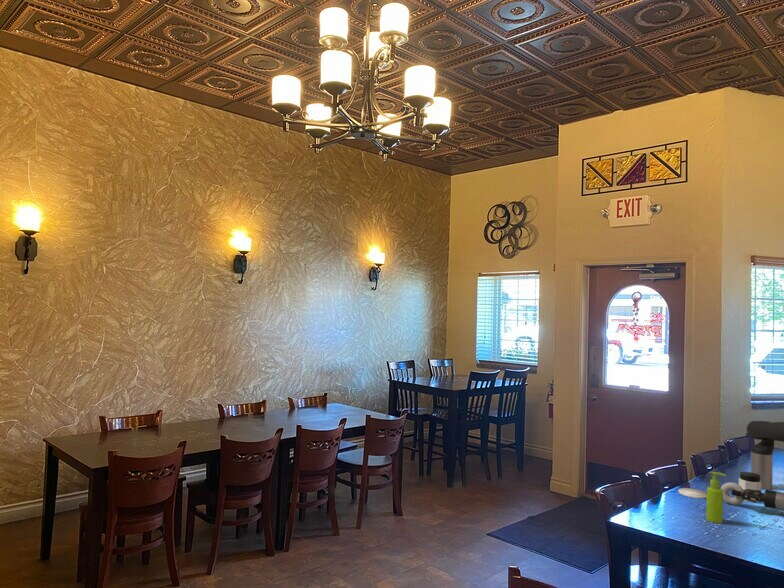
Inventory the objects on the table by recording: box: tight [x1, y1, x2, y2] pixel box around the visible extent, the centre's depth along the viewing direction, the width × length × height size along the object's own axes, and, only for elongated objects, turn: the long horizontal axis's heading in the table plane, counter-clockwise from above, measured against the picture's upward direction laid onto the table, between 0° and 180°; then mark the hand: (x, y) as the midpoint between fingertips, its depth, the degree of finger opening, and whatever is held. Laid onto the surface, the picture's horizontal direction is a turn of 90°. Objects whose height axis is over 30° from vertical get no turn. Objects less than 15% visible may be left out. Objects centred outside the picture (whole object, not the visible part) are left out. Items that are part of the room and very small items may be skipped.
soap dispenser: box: [705, 471, 727, 524], centre depth 237 cm, size 6×7×20 cm
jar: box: [738, 471, 762, 504], centre depth 267 cm, size 9×8×12 cm
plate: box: [677, 487, 707, 500], centre depth 273 cm, size 13×13×1 cm
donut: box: [720, 481, 745, 506], centre depth 259 cm, size 10×3×10 cm, turn 49°
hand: (733, 491), depth 259 cm, fingers closed on donut, 3 cm apart
